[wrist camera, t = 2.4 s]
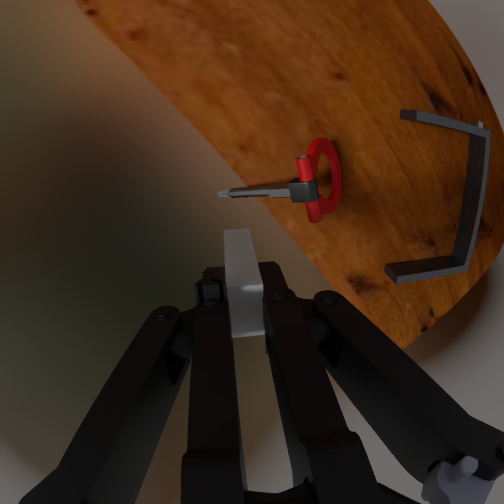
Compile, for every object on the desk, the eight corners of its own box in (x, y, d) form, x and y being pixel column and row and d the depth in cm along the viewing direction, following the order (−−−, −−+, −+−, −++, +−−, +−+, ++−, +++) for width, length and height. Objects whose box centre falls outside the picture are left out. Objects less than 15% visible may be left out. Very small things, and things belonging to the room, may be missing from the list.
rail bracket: (399, 100, 23) (416, 100, 20) (478, 121, 24) (494, 124, 21) (382, 278, 32) (394, 291, 29) (456, 266, 33) (468, 276, 30)
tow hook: (348, 197, 26) (321, 232, 22) (264, 198, 33) (225, 227, 28) (336, 131, 23) (304, 149, 19) (249, 143, 30) (204, 164, 25)
